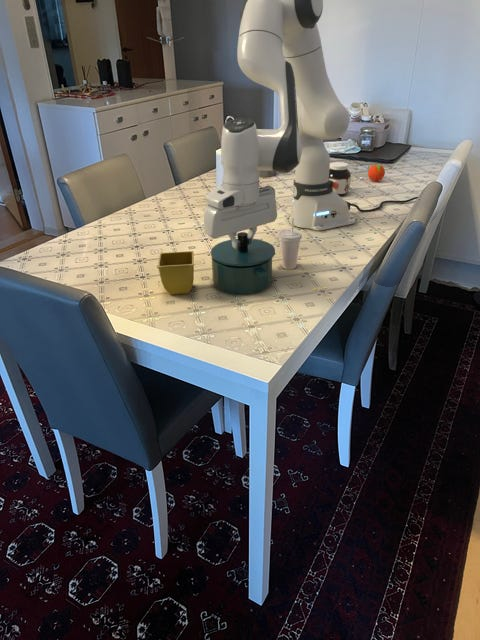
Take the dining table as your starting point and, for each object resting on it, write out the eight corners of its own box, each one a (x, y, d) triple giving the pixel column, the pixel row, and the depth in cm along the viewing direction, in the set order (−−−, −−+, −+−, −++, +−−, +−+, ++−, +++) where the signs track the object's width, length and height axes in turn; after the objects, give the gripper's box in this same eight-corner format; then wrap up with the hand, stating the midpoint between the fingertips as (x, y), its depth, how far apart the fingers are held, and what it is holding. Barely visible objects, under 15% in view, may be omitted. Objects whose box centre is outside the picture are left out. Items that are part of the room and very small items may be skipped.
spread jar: (336, 199, 189) (338, 168, 183) (313, 192, 197) (315, 163, 191) (355, 192, 196) (358, 162, 190) (333, 186, 204) (335, 158, 197)
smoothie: (299, 271, 135) (301, 223, 128) (276, 270, 136) (277, 222, 129) (301, 262, 140) (303, 215, 133) (279, 260, 141) (280, 214, 134)
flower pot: (163, 283, 131) (159, 252, 126) (196, 281, 131) (193, 250, 127) (161, 299, 123) (157, 266, 119) (196, 297, 124) (193, 264, 119)
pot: (247, 260, 142) (247, 236, 138) (289, 289, 126) (289, 262, 122) (199, 273, 135) (197, 248, 132) (236, 305, 120) (235, 277, 116)
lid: (253, 237, 137) (253, 218, 134) (287, 258, 124) (288, 237, 121) (200, 251, 130) (198, 230, 127) (230, 274, 117) (229, 252, 114)
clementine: (386, 184, 205) (388, 166, 202) (369, 184, 205) (371, 167, 202) (381, 178, 212) (383, 162, 208) (365, 179, 212) (367, 162, 209)
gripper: (267, 181, 126) (267, 232, 133) (198, 197, 116) (202, 251, 123) (282, 186, 121) (281, 239, 128) (213, 203, 111) (216, 259, 119)
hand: (242, 245), depth 126 cm, fingers closed on lid, 2 cm apart
